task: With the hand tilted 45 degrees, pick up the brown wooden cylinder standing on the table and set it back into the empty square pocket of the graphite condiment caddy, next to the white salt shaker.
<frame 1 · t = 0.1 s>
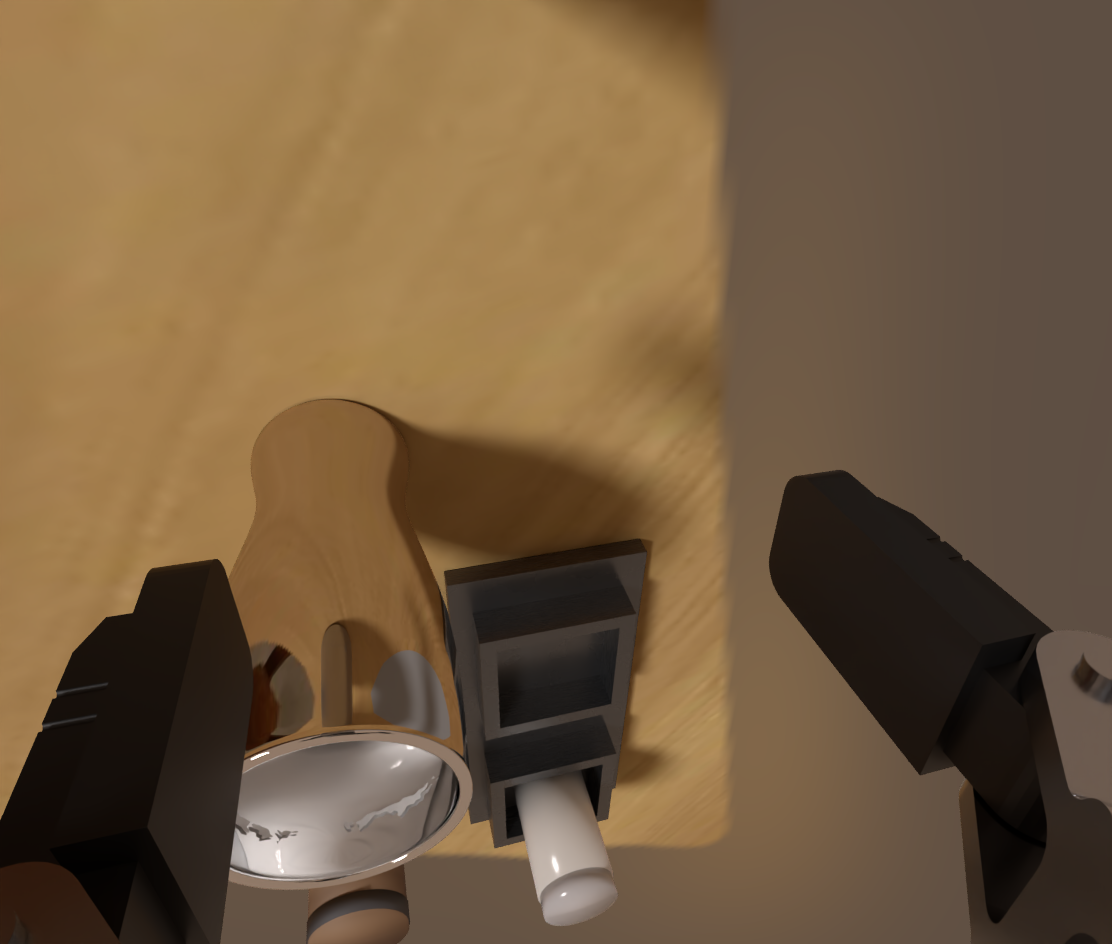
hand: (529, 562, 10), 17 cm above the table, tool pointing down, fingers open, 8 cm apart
salt shaker: (545, 772, 44), point 1 cm above the table, touching condiment caddy
brown wooden cylinder: (353, 743, 39), on the table
condiment caddy: (542, 692, 41), on the table
beer glass: (332, 460, 28), on the table
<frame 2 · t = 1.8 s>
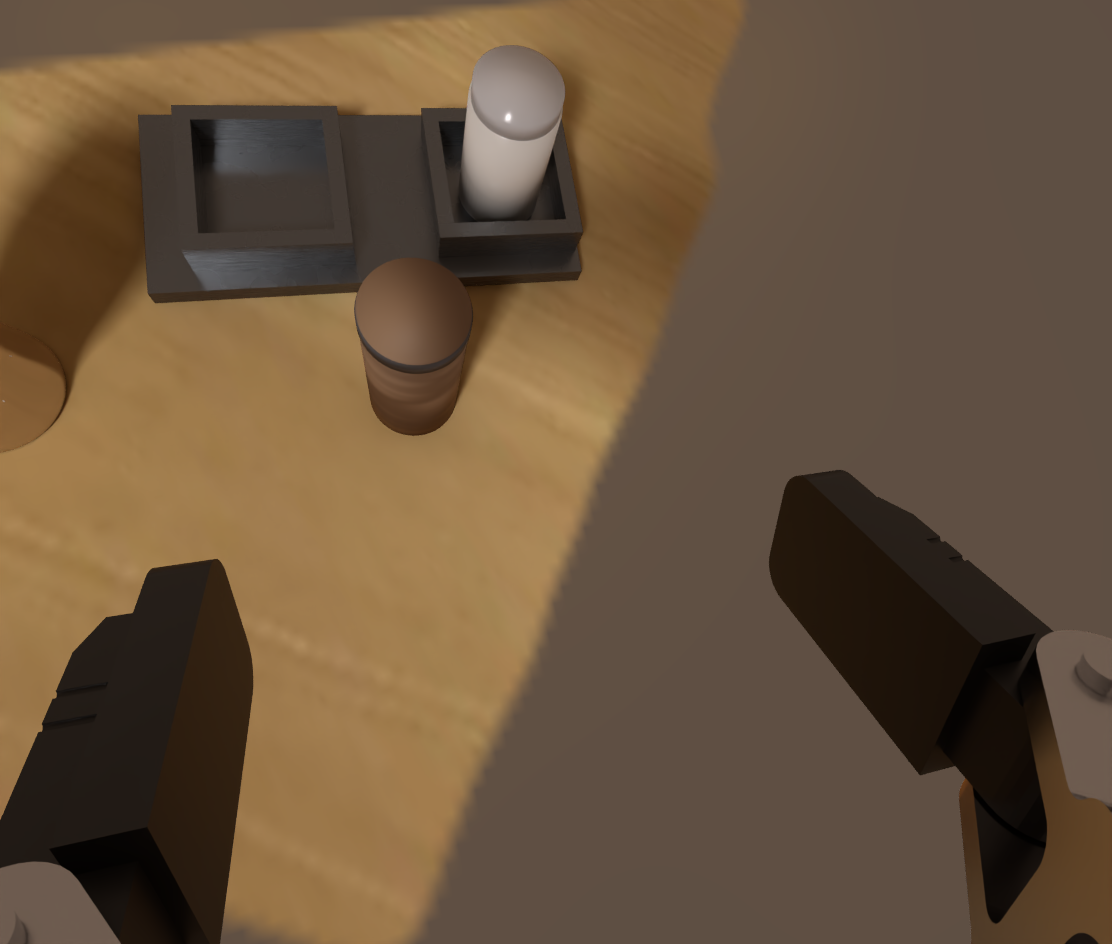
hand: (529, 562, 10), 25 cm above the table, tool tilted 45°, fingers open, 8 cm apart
salt shaker: (497, 193, 39), point 1 cm above the table, touching condiment caddy
brown wooden cylinder: (413, 395, 36), on the table
condiment caddy: (370, 207, 38), on the table
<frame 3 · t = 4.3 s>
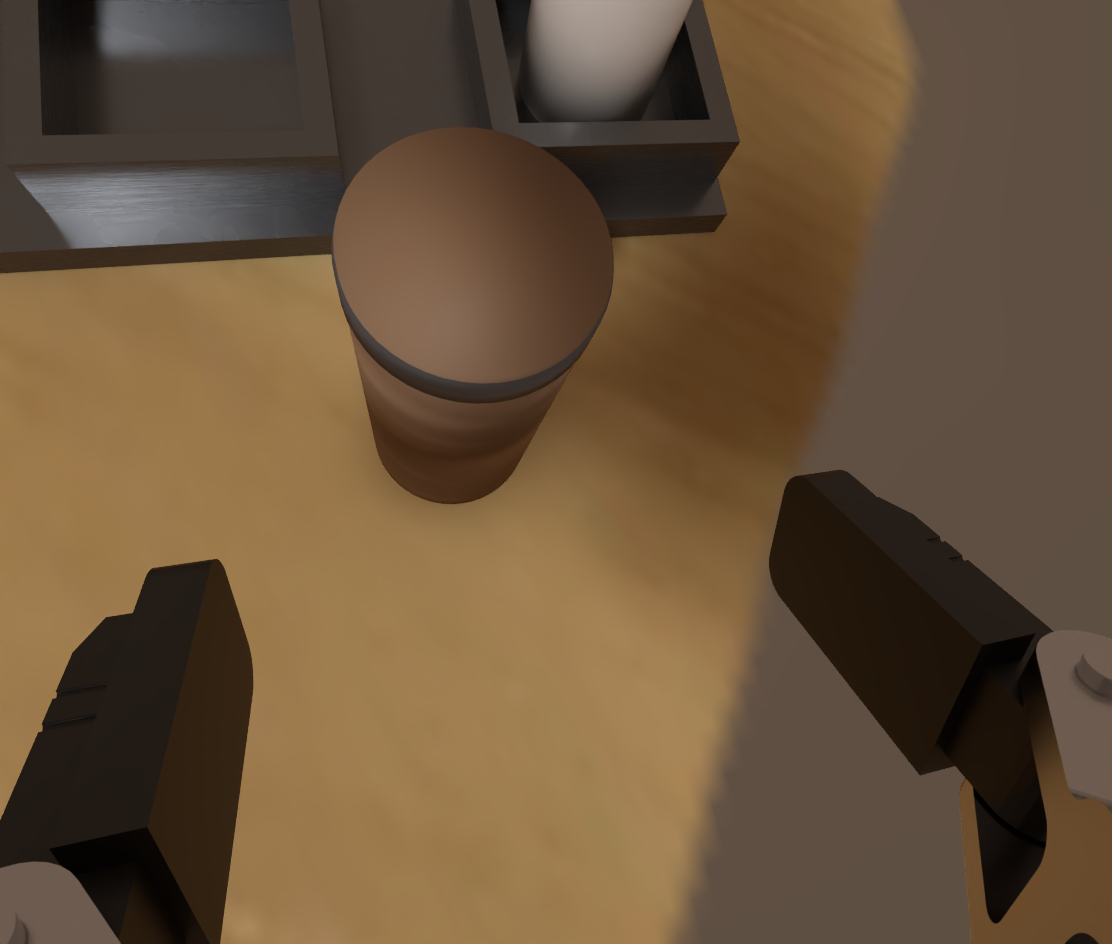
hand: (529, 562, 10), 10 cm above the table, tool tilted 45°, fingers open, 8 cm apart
salt shaker: (583, 86, 23), point 1 cm above the table, touching condiment caddy
brown wooden cylinder: (451, 431, 20), on the table
condiment caddy: (370, 111, 22), on the table
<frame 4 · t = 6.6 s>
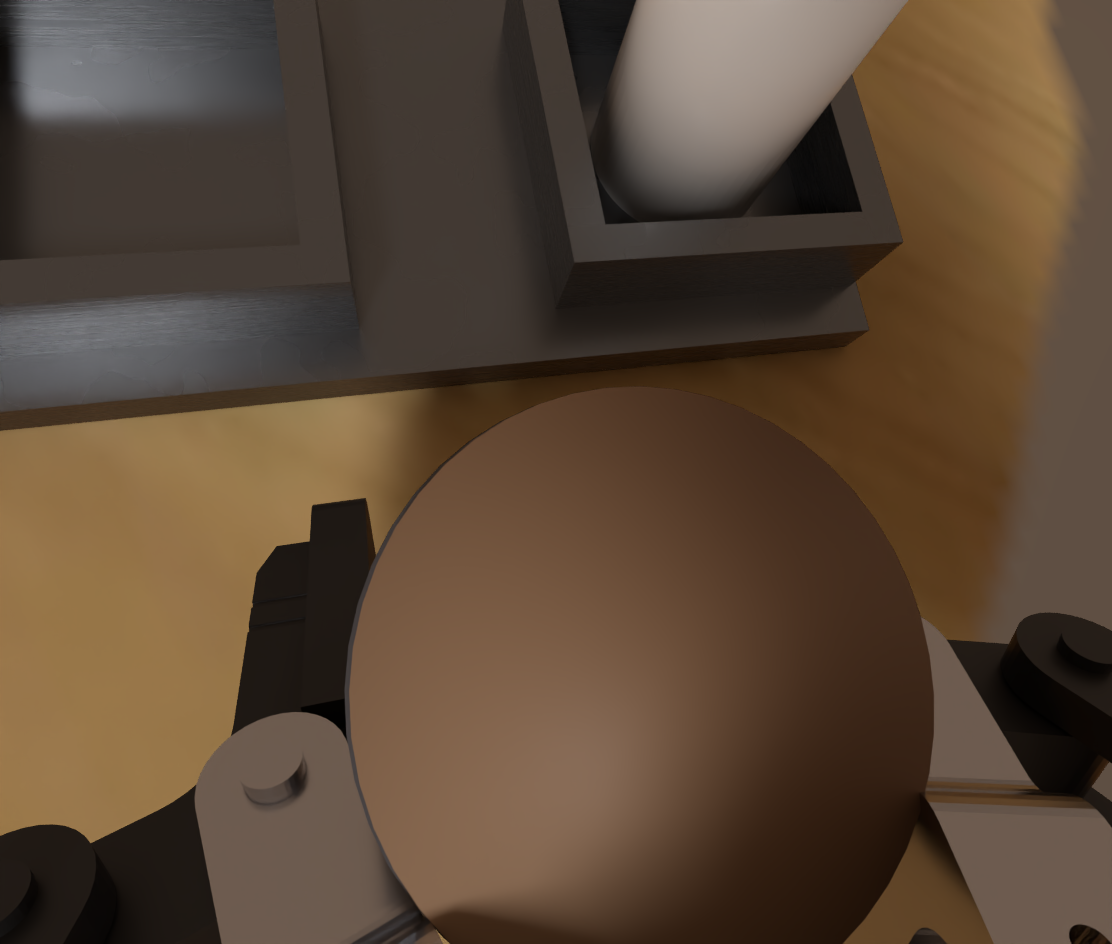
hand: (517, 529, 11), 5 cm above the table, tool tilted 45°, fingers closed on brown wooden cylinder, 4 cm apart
salt shaker: (676, 157, 17), point 1 cm above the table, touching condiment caddy
brown wooden cylinder: (503, 651, 15), on the table, touching gripper
condiment caddy: (391, 192, 17), on the table
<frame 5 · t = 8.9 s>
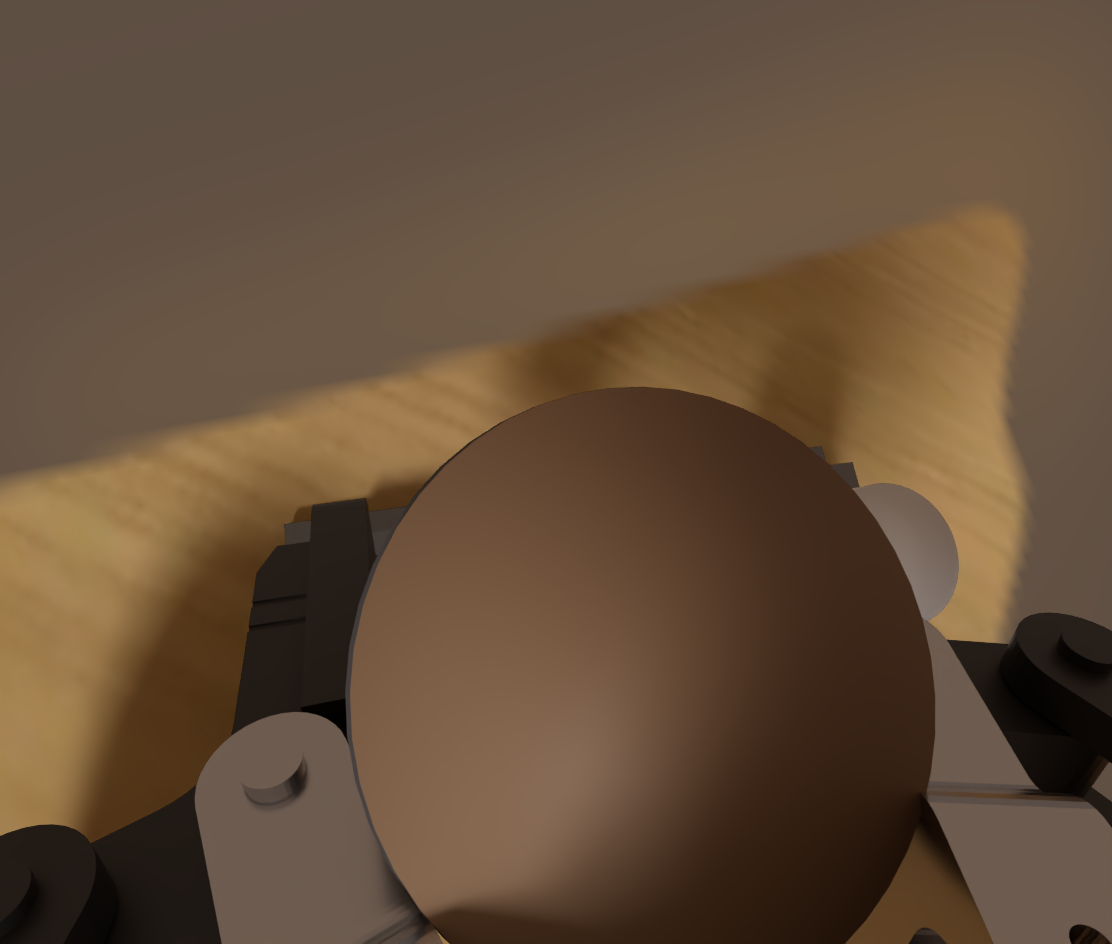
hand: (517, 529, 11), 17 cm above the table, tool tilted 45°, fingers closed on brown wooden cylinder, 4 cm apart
salt shaker: (765, 577, 28), point 1 cm above the table, touching condiment caddy
brown wooden cylinder: (503, 651, 15), point 12 cm above the table, touching gripper
condiment caddy: (594, 609, 27), on the table
when the fingers open (7 cm above the table, at t = 11.3 s): brown wooden cylinder drops 1 cm, resting on condiment caddy.
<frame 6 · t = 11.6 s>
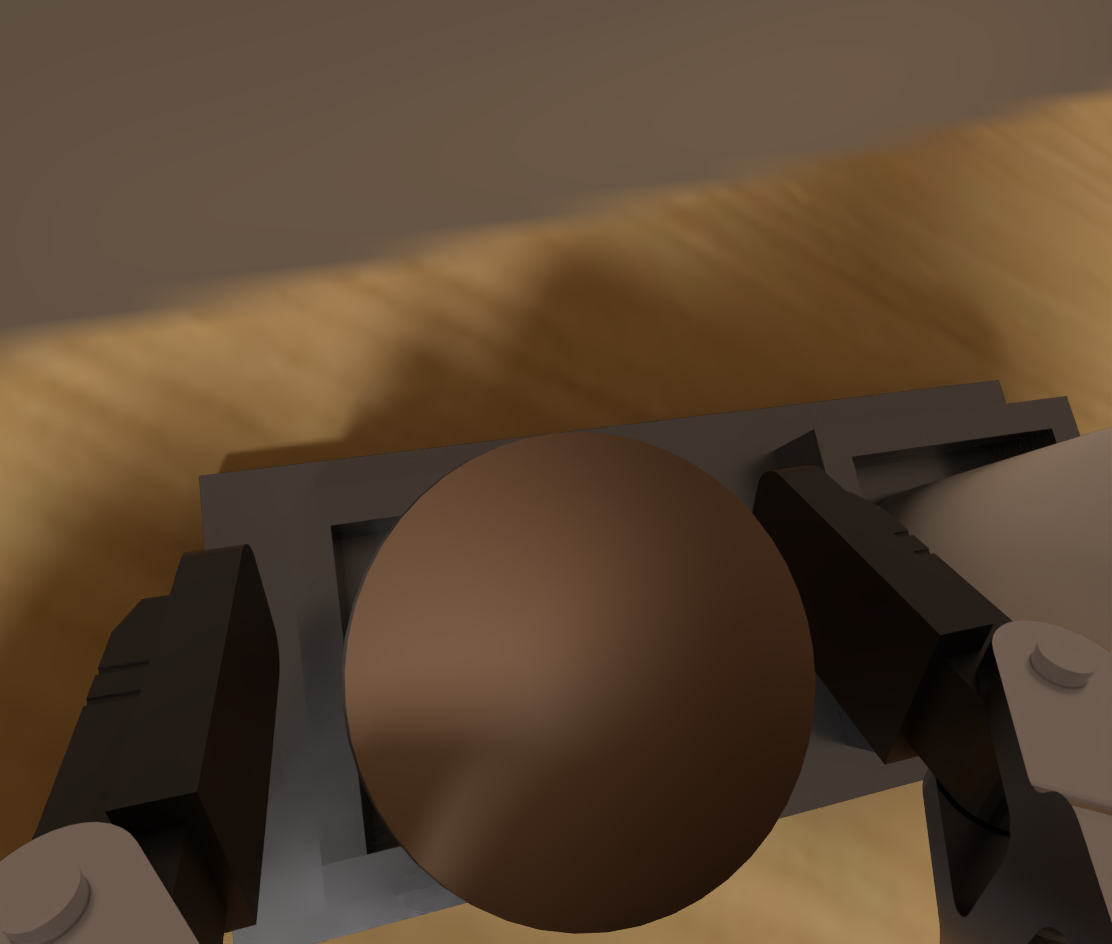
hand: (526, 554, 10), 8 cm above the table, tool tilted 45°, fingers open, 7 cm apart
salt shaker: (932, 568, 19), point 1 cm above the table, touching condiment caddy
brown wooden cylinder: (495, 656, 16), point 1 cm above the table, touching condiment caddy
condiment caddy: (679, 614, 18), on the table
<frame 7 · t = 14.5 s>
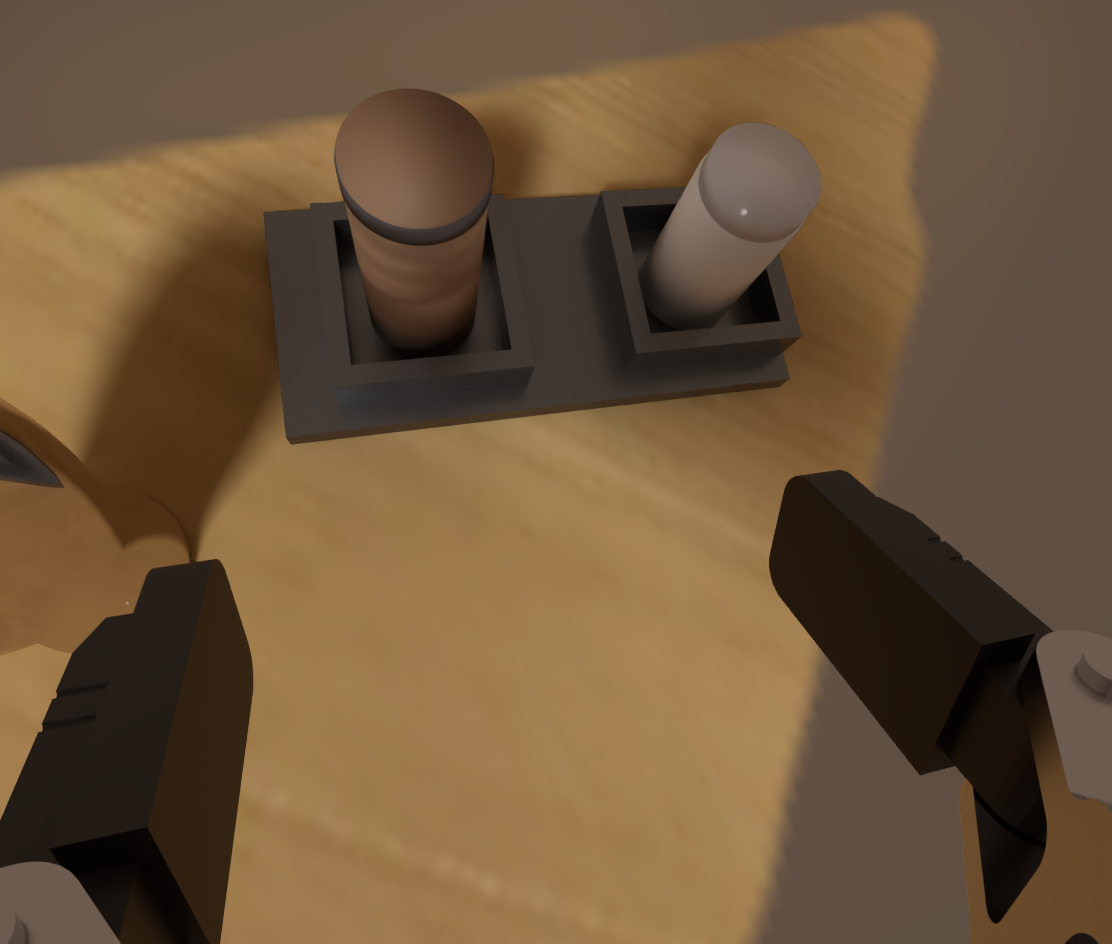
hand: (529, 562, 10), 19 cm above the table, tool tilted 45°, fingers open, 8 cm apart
salt shaker: (685, 286, 32), point 1 cm above the table, touching condiment caddy
brown wooden cylinder: (423, 310, 29), point 1 cm above the table, touching condiment caddy
condiment caddy: (534, 309, 31), on the table
beer glass: (106, 570, 26), on the table
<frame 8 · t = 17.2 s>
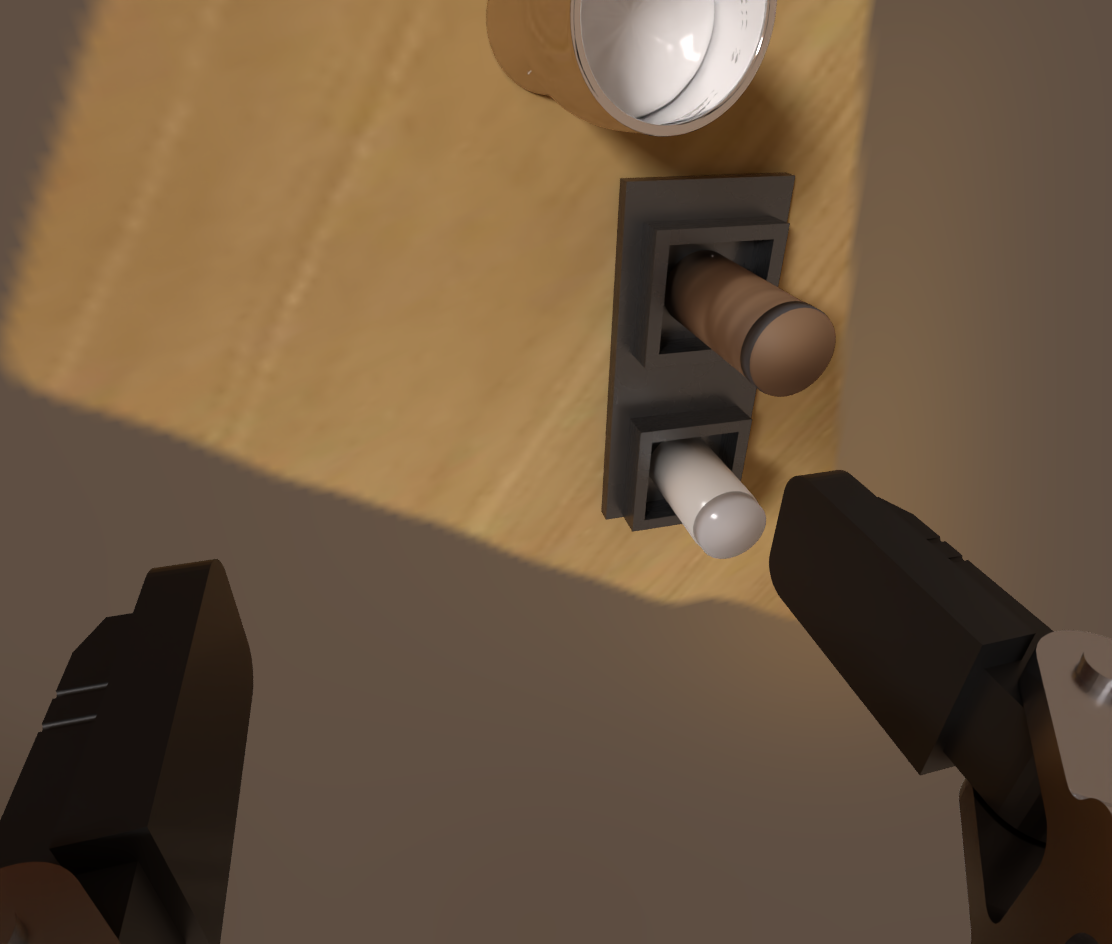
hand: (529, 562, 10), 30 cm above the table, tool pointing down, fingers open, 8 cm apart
salt shaker: (678, 461, 47), point 1 cm above the table, touching condiment caddy
brown wooden cylinder: (698, 288, 40), point 1 cm above the table, touching condiment caddy
condiment caddy: (683, 360, 44), on the table
beer glass: (548, 21, 33), on the table
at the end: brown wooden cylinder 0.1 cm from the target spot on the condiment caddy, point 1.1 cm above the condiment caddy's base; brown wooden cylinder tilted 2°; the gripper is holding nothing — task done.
